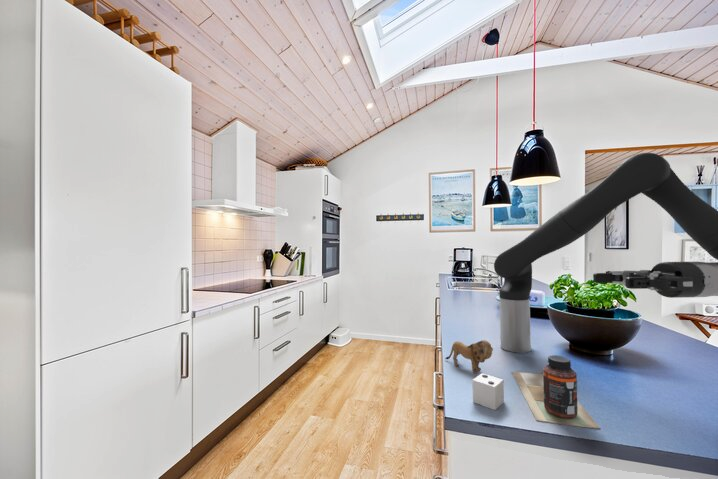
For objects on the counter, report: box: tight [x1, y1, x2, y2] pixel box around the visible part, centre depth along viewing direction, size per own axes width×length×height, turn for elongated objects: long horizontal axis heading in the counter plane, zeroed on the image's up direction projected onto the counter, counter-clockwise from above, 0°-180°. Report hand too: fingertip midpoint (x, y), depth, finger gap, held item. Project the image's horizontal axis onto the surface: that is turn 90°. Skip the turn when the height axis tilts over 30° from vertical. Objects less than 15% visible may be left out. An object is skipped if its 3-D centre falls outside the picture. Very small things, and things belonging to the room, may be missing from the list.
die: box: [472, 373, 505, 411], centre depth 69 cm, size 5×5×5 cm
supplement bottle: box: [542, 354, 578, 419], centre depth 64 cm, size 6×6×11 cm
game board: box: [511, 371, 601, 430], centre depth 71 cm, size 11×24×1 cm, turn 164°
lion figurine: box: [444, 339, 494, 374], centre depth 89 cm, size 15×5×9 cm, turn 43°
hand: (609, 280), depth 64 cm, fingers open, 8 cm apart
